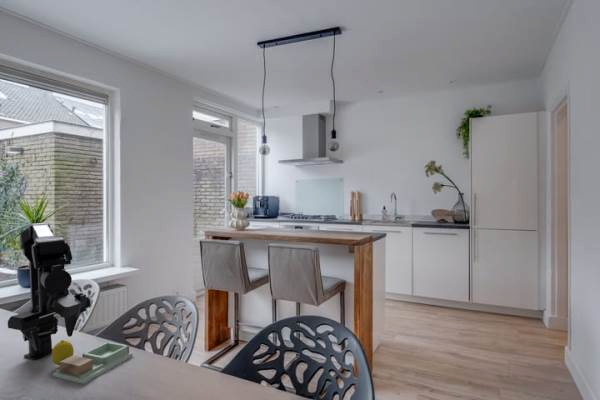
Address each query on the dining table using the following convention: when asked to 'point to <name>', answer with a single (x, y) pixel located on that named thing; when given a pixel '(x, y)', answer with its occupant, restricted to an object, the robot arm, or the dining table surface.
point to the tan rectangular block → (76, 365)
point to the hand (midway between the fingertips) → (53, 343)
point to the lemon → (62, 351)
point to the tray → (100, 361)
